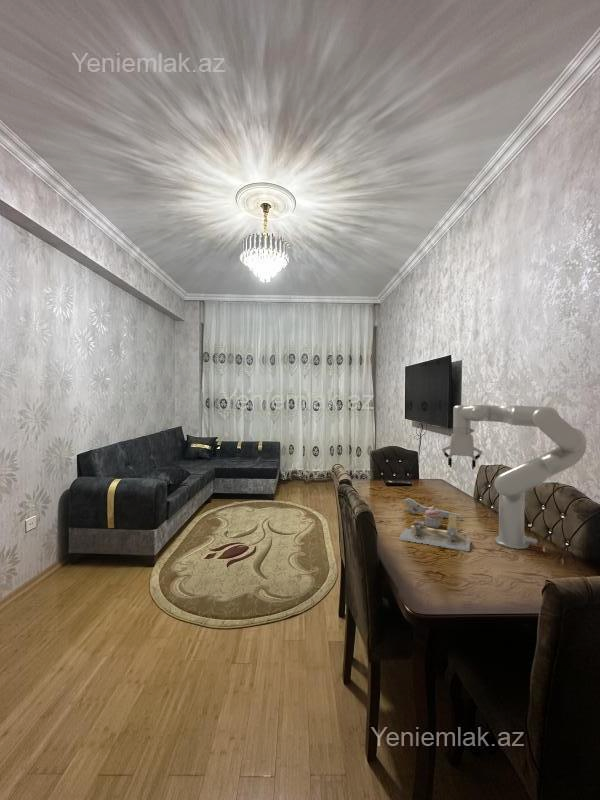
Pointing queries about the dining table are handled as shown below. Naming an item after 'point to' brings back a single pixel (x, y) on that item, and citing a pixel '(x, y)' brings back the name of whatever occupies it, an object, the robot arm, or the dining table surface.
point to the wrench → (419, 508)
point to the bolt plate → (435, 540)
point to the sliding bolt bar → (435, 531)
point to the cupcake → (433, 517)
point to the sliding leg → (452, 526)
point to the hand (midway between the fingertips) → (461, 467)
